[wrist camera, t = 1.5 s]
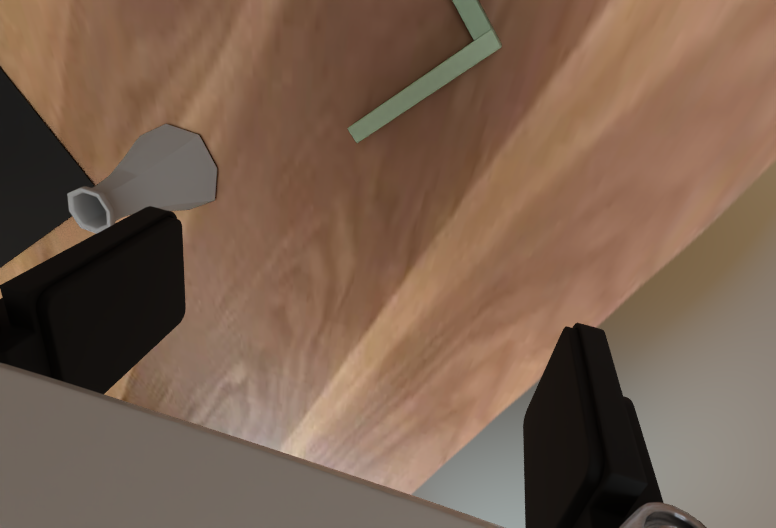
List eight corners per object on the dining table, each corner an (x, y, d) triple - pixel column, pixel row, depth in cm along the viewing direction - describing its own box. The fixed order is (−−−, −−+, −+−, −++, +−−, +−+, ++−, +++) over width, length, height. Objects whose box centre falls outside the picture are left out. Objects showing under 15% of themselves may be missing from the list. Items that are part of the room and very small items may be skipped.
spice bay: (257, -25, 32) (244, -26, 30) (395, -157, 27) (388, -167, 25) (363, 137, 35) (356, 143, 34) (502, 45, 30) (501, 47, 29)
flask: (129, 123, 39) (21, 156, 31) (208, 122, 37) (117, 156, 29) (154, 207, 42) (64, 258, 34) (228, 209, 41) (152, 263, 32)
